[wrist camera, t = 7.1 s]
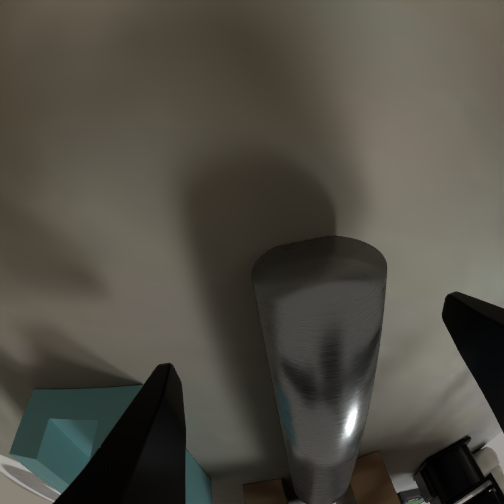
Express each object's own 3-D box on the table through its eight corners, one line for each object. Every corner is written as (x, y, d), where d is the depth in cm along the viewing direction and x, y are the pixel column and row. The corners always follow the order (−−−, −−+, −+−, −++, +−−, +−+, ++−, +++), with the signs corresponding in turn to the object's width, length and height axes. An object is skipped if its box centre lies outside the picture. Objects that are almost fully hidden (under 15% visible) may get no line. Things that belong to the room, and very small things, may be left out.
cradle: (143, 384, 13) (131, 469, 9) (210, 479, 18) (214, 531, 14) (33, 389, 12) (9, 453, 8) (126, 481, 18) (122, 528, 14)
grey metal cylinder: (342, 226, 11) (415, 275, 8) (335, 452, 19) (358, 491, 16) (237, 255, 10) (278, 327, 7) (285, 471, 18) (304, 514, 15)
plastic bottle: (483, 450, 31) (526, 530, 13) (451, 471, 31) (491, 557, 14) (493, 435, 28) (542, 524, 10) (457, 460, 29) (504, 555, 11)
